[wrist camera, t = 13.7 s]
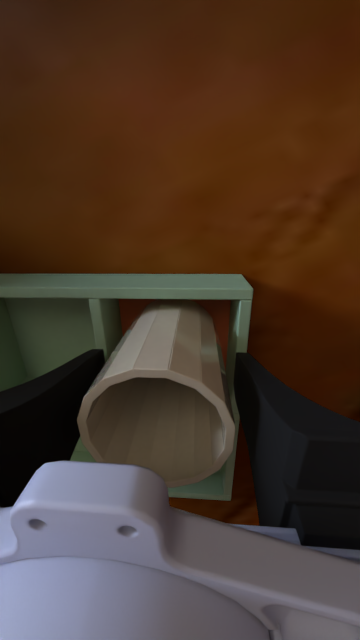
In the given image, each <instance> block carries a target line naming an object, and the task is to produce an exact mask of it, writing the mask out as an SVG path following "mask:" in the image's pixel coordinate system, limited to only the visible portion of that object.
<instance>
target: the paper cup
mask: <svg viewBox="0 0 360 640" xmlns="http://www.w3.org/2000/svg"><path fill="white" fill-rule="evenodd" d="M77 423H78V428H79V432H80V436H81V441H82V443H83V445H84V446H85V448H86V449H87V450H88V452H89V453H90V454H91V455H92V457H93V458H94V459H95V461H96V462H100V463H117V464H134V465H138V466H142V467H147V468H150V469H151V470H153V471H154V472H155V473H157V474H158V475H160V476H161V477H162V478H163V479H164V482H165V484H166V486H167V488H172V487H173V488H174V487H179V486H184V485H188V484H193V483H197V482H200V481H202V480H203V479H205V478H207V477H208V476H210V475H212V474H213V473H215V472H217V471H218V470H219V469H221V467H222V466H223V464H224V463H225V461H226V460H227V459H228V457H229V456H230V454H231V453H232V452H233V449H234V439H235V429H236V427H235V421H234V416H233V410H232V405H231V399H230V394H229V388H228V383H227V378H226V372H225V367H224V361H223V356H222V350H221V345H220V340H219V334H218V331H217V328H216V325H215V322H214V320H213V318H212V317H211V315H210V314H209V313H208V312H207V310H206V309H204V308H203V307H202V306H201V305H199V304H198V303H196V302H194V301H192V300H189V299H157V300H155V301H153V302H151V303H150V304H148V305H147V306H145V307H144V308H143V309H142V310H141V312H140V313H139V314H138V315H137V316H136V317H135V319H134V320H133V322H132V323H131V325H130V327H129V328H128V330H127V331H126V333H125V334H124V336H123V337H122V339H121V340H120V342H119V343H118V345H117V347H116V348H115V350H114V351H113V353H112V354H111V356H110V357H109V359H108V360H107V362H106V363H105V365H104V367H103V368H102V370H101V371H100V373H99V374H98V376H97V377H96V379H95V380H94V382H93V383H92V385H91V387H90V388H89V390H88V391H87V393H86V394H85V396H84V397H83V401H82V404H81V407H80V411H79V414H78V417H77Z"/></svg>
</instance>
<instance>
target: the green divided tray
mask: <svg viewBox="0 0 360 640" xmlns="http://www.w3.org/2000/svg"><path fill="white" fill-rule="evenodd" d="M252 298H253V288H252V287H251V286H250V284H249V283H248V282H247V281H246V280H245V278H244V277H243V276H242V275H241V274H0V392H1V391H4V390H6V389H9V388H12V387H15V386H18V385H20V384H23V383H25V382H28V381H30V380H33V379H35V378H37V377H39V376H42V375H44V374H46V373H48V372H50V371H51V370H53V369H55V368H57V367H59V366H61V365H63V364H65V363H67V362H68V361H70V360H72V359H74V358H76V357H77V356H79V355H81V354H83V353H85V352H87V351H89V350H91V349H103V351H104V357H105V363H106V362H107V360H108V359H109V357H110V356H111V354H112V353H113V351H114V350H115V348H116V347H117V345H118V343H119V342H120V340H121V339H122V337H123V336H124V334H125V333H126V331H127V330H128V328H129V327H130V325H131V323H132V322H133V320H134V319H135V317H136V316H137V315H138V314H139V313H140V312H141V310H142V309H143V308H144V307H145V306H147V305H148V304H150V303H151V302H153V301H155V300H157V299H189V300H192V301H194V302H196V303H198V304H199V305H201V306H202V307H203V308H204V309H206V310H207V312H208V313H209V314H210V315H211V317H212V318H213V320H214V322H215V325H216V328H217V331H218V334H219V340H220V345H221V350H222V356H223V361H224V367H225V372H226V378H227V383H228V388H229V394H230V399H231V405H232V410H233V416H234V421H235V427H236V429H235V439H234V449H233V452H232V453H231V454H230V456H229V457H228V459H227V460H226V461H225V463H224V464H223V466H222V467H221V469H219V470H218V471H217V472H215V473H213V474H212V475H210V476H208V477H207V478H205V479H203V480H202V481H200V482H197V483H193V484H188V485H184V486H179V487H174V488H173V487H172V488H167V489H168V497H180V498H195V499H211V500H226V501H231V493H232V484H233V474H234V465H235V456H236V446H237V437H238V428H239V419H240V416H239V412H238V408H237V405H236V401H235V394H234V386H233V381H234V370H235V359H236V352H243V353H247V344H248V335H249V326H250V316H251V307H252ZM70 461H82V462H96V461H95V459H94V458H93V457H92V455H91V454H90V453H89V452H88V450H87V449H86V448H85V446H84V445H83V443H82V441H81V436H80V438H79V440H78V442H77V445H76V447H75V449H74V452H73V454H72V456H71V459H70Z"/></svg>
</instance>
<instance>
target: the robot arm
mask: <svg viewBox="0 0 360 640" xmlns="http://www.w3.org/2000/svg"><path fill="white" fill-rule="evenodd" d="M104 365H105V357H104V351H103V349H91V350H89V351H87V352H85V353H83V354H81V355H79V356H77V357H76V358H74V359H72V360H70V361H68V362H67V363H65V364H63V365H61V366H59V367H57V368H55V369H53V370H51V371H50V372H48V373H46V374H44V375H42V376H39V377H37V378H35V379H33V380H30V381H28V382H25V383H23V384H20V385H18V386H15V387H12V388H9V389H6V390H4V391H1V392H0V640H360V422H358V421H355V420H352V419H350V418H347V417H344V416H342V415H340V414H338V413H335V412H333V411H331V410H329V409H326V408H324V407H322V406H320V405H318V404H316V403H315V402H313V401H311V400H309V399H307V398H305V397H304V396H302V395H300V394H299V393H297V392H296V391H294V390H292V389H291V388H289V387H288V386H286V385H285V384H284V383H282V382H281V381H280V380H278V379H277V378H276V377H275V376H273V375H272V374H271V373H270V372H269V371H267V370H266V369H265V368H264V367H263V366H262V365H261V364H260V363H259V362H257V361H256V360H255V359H254V358H253V357H252V356H251V355H250V354H249V353H243V352H236V359H235V370H234V381H233V386H234V394H235V401H236V405H237V408H238V412H239V416H240V419H241V423H242V427H243V430H244V434H245V437H246V441H247V446H248V451H249V457H250V463H251V469H252V475H253V482H254V488H255V495H256V502H257V509H258V516H259V524H260V526H253V525H239V524H227V523H224V522H220V521H217V520H214V519H210V518H207V517H203V516H200V515H197V514H193V513H190V512H187V511H183V510H180V509H176V508H173V507H170V505H169V497H168V489H167V486H166V484H165V482H164V479H163V478H162V477H161V476H160V475H158V474H157V473H155V472H154V471H153V470H151V469H150V468H147V467H142V466H138V465H134V464H117V463H100V462H82V461H70V459H71V456H72V454H73V452H74V449H75V447H76V445H77V442H78V440H79V438H80V432H79V428H78V423H77V417H78V414H79V411H80V407H81V404H82V401H83V397H84V396H85V394H86V393H87V391H88V390H89V388H90V387H91V385H92V383H93V382H94V380H95V379H96V377H97V376H98V374H99V373H100V371H101V370H102V368H103V367H104Z"/></svg>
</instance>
